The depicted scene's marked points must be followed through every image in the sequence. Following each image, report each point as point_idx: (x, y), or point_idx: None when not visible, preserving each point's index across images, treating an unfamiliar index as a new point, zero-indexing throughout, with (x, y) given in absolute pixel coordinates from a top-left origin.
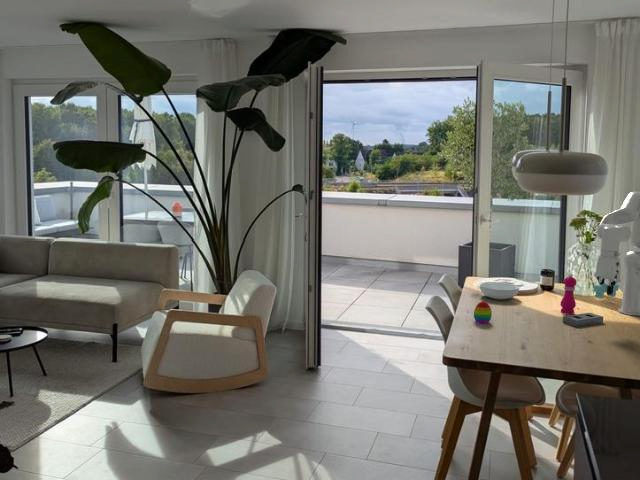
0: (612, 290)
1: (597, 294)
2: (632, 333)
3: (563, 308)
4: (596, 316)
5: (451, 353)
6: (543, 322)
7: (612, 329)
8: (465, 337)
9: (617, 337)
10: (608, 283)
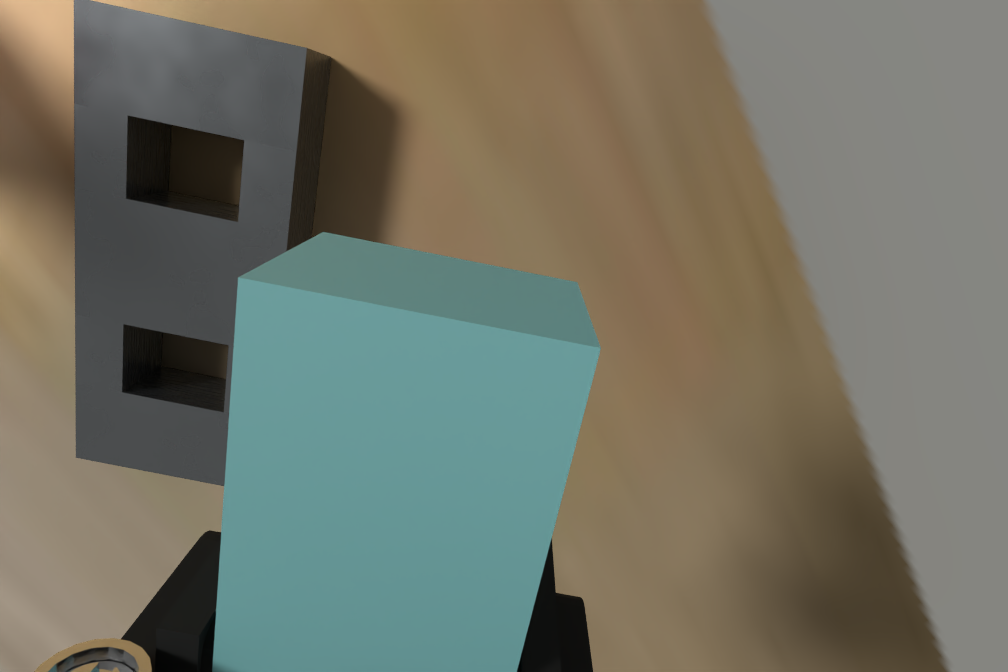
0: (582, 652)
1: None
2: (753, 194)
3: None
4: (253, 124)
5: None
6: (48, 563)
7: (543, 233)
8: None
9: (706, 455)
10: (229, 503)
